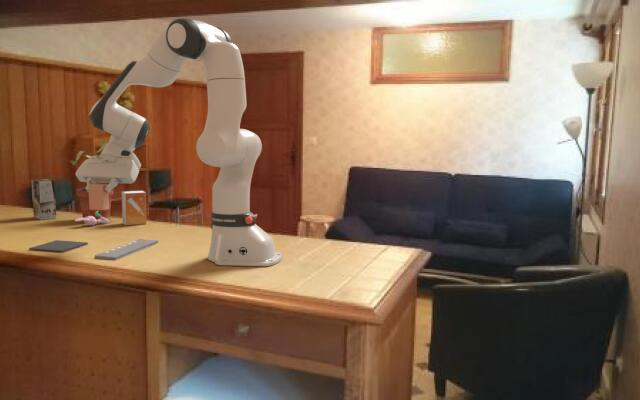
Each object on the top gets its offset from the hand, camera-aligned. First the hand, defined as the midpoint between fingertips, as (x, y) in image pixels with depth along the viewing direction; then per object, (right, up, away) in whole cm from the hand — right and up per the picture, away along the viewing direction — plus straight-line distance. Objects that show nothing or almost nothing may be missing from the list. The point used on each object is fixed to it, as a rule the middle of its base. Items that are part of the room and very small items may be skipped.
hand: (97, 191), depth 163 cm
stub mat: (-14, -18, +3) cm, 23 cm away
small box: (-4, -13, +45) cm, 47 cm away
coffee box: (-45, -11, +54) cm, 71 cm away
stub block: (0, -6, +1) cm, 6 cm away
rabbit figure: (-19, -13, +40) cm, 46 cm away
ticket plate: (+9, -19, +1) cm, 21 cm away
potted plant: (-23, -11, +51) cm, 57 cm away
